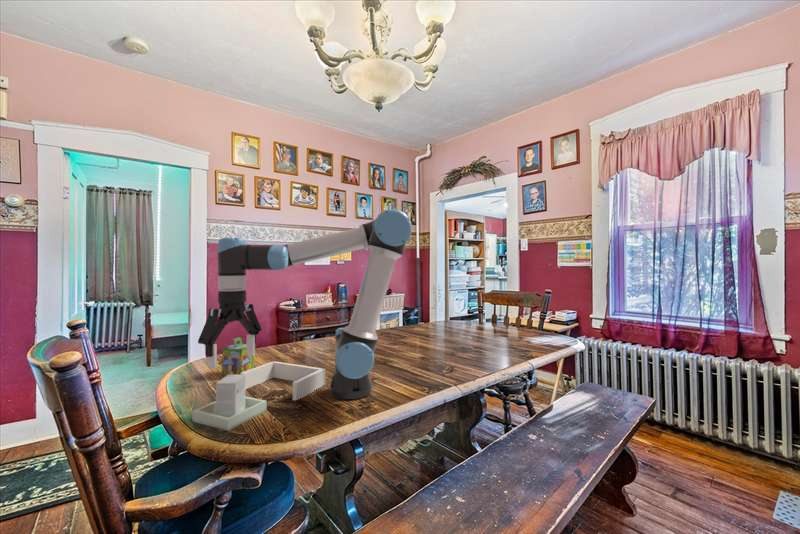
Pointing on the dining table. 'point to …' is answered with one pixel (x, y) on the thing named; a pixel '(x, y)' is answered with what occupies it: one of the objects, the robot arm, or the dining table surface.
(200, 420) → the tray
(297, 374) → the bay
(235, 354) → the chalk box
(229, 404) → the small box
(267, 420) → the dining table surface
